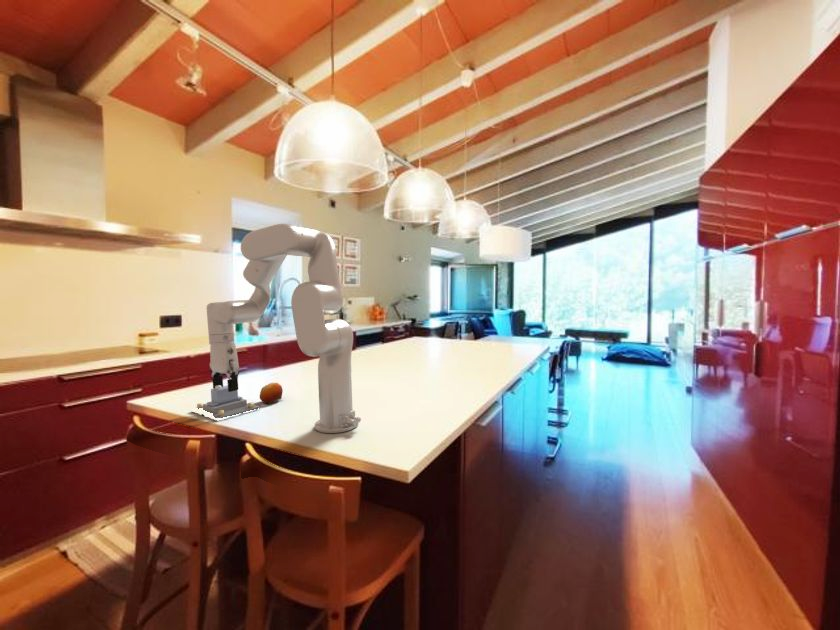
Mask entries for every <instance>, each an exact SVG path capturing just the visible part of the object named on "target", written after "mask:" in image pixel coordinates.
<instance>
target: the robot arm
mask: <svg viewBox="0 0 840 630" xmlns="http://www.w3.org/2000/svg"><path fill="white" fill-rule="evenodd" d="M240 252H241V254H242V256H243V257H244V259H247V261H248V260H249V261H248V263H247V264H246V266H245V268H244V269H243V271H242V276H243V277H244V280H245V281H247V282H248V283H249V284H250V285H252V286H253V287H254V291H253V293H252V294H251V296H250V298H249V299H244V300H243V299H242V300H240V299H239V300H228V301H220V302H219V301H217V302H209V303H208V304H207V305H206V318H207V321H206V322H207V329H208V330H207V331H208V344H209V346H210V349H209V352H210V353H209V355H210V356H209V357H210V358H209V359H210V362H209V363H208V364H209V368H210V373H211V377H212V389H214V388H215V386H217V385H221V387H223V386H224V380H223V377H224V376H223V375H222V374H226V377H227V378H228V379H227V380H226V381H227V385H228V391H229V392H232V391H236V390H239V381H238V380H239V374H240V366H239V358H238V350H237V348H236V347H237V346H236V342H235V335H234V334H235V333H234V325H237V324H243V323H253V322H256V321H257V320H259V319H260V318H262V317H263V315H264V313H265V311H266V310H267V308H268V307H269V305H270V302H271V298H272V297H271V296H272V295H271V293H272V291H271V286H270V284H271V282H272V281H273V279H274V277H275V276H276V274H277V272H278V271H279V269H280V267H281V266H282V264H283V262H284V261H285V259H286V257H287V256H293V257H306V258H307V257H308V258H309V261H308V264H307V274H308V275H307V276H308V281H305V282H302V283H300V284H298V285H297V286H295V289H294V290H293V292H292V295H291V302H290V304H291V311H292V318H293V319H292V320H293V324H294V331H295V335H296V342H297V345H298V347H299V349H300V351H301V352H302V353H303V354H304V355H306V356H308V357H312V358H315V357H316V358H317V357H319V358H318V364H317V380H318V404H319V419H318V420H317V421H315V422H314V429H315V430H316V431H317V432H320V433H323V434H338V433H344V432H349V431H351V430H354V429H355V428H357V427H358V425H359V423H360V422H361V420H362V418H361V417H358V416H356V411H355V410H353V408H354V407H353V385H352V384H353V382H352V352H353V345H354V333H353V332H354V331H353V329H352V326H351V325H350V324H349V323H348V322H347V321H346V320H344V319H341V318H329V319H325V316H328V315H333V314H336V313H338V312H339V311H340V310H341V309H342V307H343V303H344V300H343V292H342V286H341V279H340V274H339V267H338V261H337V260H338V259H337V258H338V257H337V251H336V245H335V242H334V240H333V239H332V238H331V236H330V235H329V234H327V233H326V232H324V231H322V230H319V229H314V228H309V227H306V226H299V225H294V224H290V223H277V224H273V225H270V226H267V227H262V228H258V229H255V230H252V231H250V232H248V233H247V234H246V235H245V236H244V237H243V238H242V240H241V242H240Z"/></svg>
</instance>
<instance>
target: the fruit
mask: <svg viewBox="0 0 840 630" xmlns="http://www.w3.org/2000/svg"><path fill="white" fill-rule="evenodd" d="M283 392H284V391H283V387H282V385H281V384H280V383H278V382H270V383H268V384H267V385H264V386H263V387H262V388H261V389H260V392H259V399H260V401H262V402H263V403H264V402H265V403H264V404H268V403H269V404H272V402H274V403H278V402H279V401H280V400H281V399H282V397H283Z"/></svg>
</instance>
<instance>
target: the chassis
mask: <svg viewBox="0 0 840 630" xmlns="http://www.w3.org/2000/svg"><path fill="white" fill-rule="evenodd" d="M247 401H248V400H247V399H246V398H242V399H240V400H238V401H236V402H232V403H228V404H225V405H221V406H217V407H216V406H211V405H207V402H206V403H202V402H201V403H197V405H196V408H198V409H199V408H203V410H205V411H207V412H210V413H213V416H214V417H215V418H223V417H227V416H232V415H236V414H239V413H243V412H246V411H250V410H254V409H258V408H259V409H260V406H257V405H254V402H253V401H252V402H247Z"/></svg>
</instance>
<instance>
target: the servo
mask: <svg viewBox="0 0 840 630" xmlns="http://www.w3.org/2000/svg"><path fill="white" fill-rule="evenodd" d="M238 390H239V389H238ZM238 390H236V391H232V392H229V391H228V384H227V385H223V387H221V385H217V386H215V388H210V398H211V401H207V402H206V403H207V405H211V406H216V407H217V406H221V405H225V404H228V403H232V402H236V401H238V400H240V399H243V397H242V396H239V393H238V392H239V391H238Z"/></svg>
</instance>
